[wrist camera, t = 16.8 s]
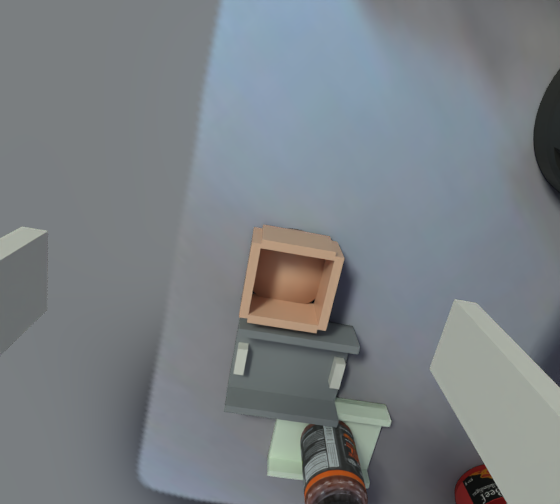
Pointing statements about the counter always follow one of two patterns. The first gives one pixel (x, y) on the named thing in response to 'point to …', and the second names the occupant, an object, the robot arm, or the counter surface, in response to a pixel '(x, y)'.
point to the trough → (353, 413)
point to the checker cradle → (289, 372)
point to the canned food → (478, 488)
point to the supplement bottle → (331, 466)
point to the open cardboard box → (290, 279)
